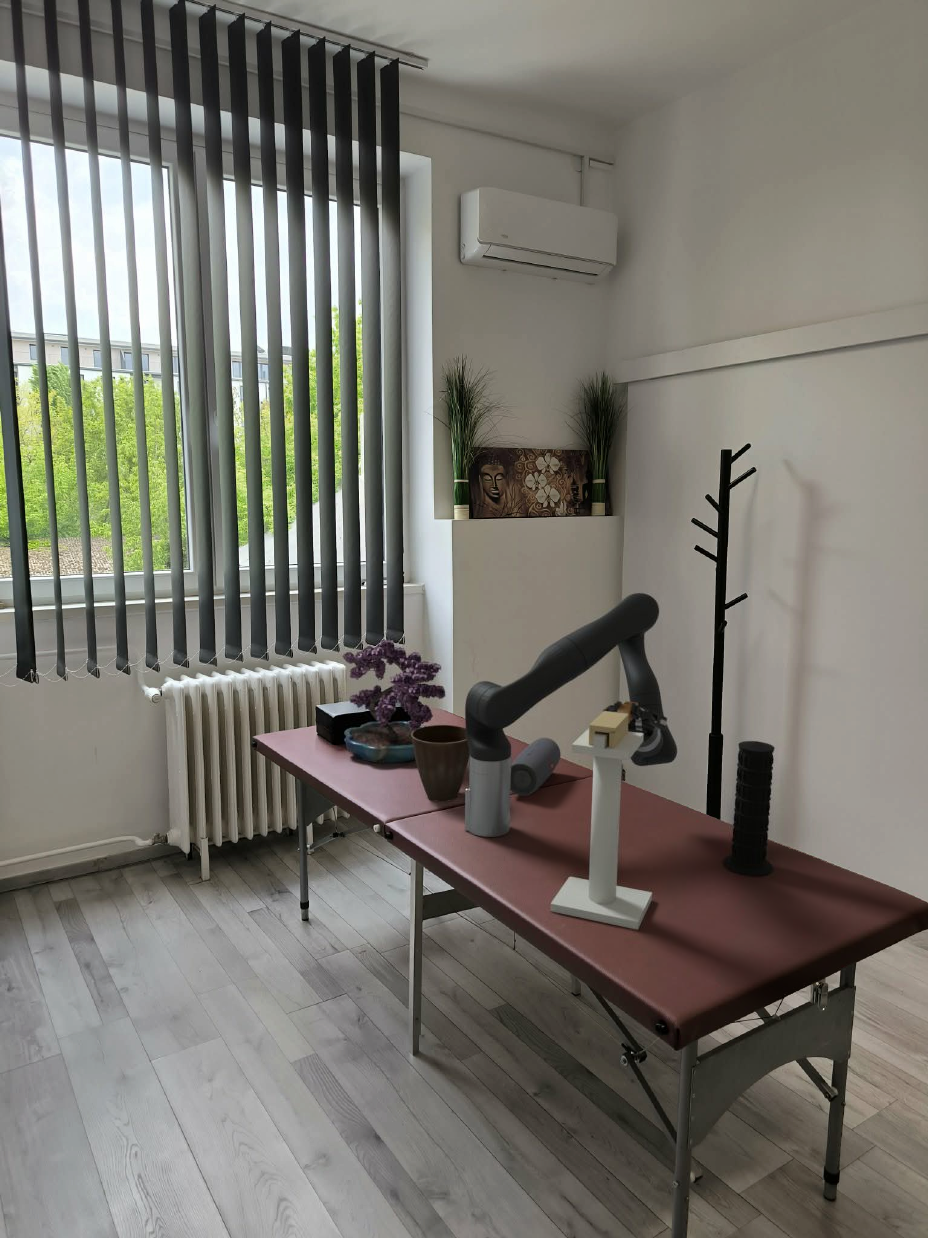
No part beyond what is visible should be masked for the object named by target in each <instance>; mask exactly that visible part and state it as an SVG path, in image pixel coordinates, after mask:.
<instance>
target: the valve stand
mask: <svg viewBox="0 0 928 1238" xmlns="http://www.w3.org/2000/svg"><path fill="white" fill-rule="evenodd" d="M628 716H629V714H625V713H617V712H608V711H603V710H602V712H601V713H600V714H599V715H598V716H597V717H596V718H595V719H594V720H593V721H592V722H591V723H589V725H588V727H589V728H587V729H586V730H585V731H584V732H583V733H582V734H581V735H580V736H579V737H578V738H577V739H576V740H575V741H574V742H573V743H572V744H571V753H573V754H579V755H586V756H592V757H593V765H592V766H593V769H592V797H591V799H592V800H591V817H590V818H591V823H590V846H589V847H590V849H589V871H588V872H589V874H588V879H585V878H579V877H575V876H568V878H567V879H566V881H565V882H564V884H563V885H562V886H561V888H560V890H559V891H558V893H556V895H555V897H554V898H553V899H552V901H551V902H550V912H553V913H556V914H557V913H558V914H562V915H565V916H566V915H567V916H572V917H575V918H576V917H578V918H581V919H586V920H590V921H595V922H600V923H603V924H604V923H605V924H610V925H614V926H618V927H623V928H629V929H633V930H636V931H637V930H639V928H640V926H641V923H642V922H643V920H644V918H645V916H646V913H647V911H648V909H649V906H650V905H651V902H652V898H653V892H651V891H647V890H641V889H635V888H631V887H627V886H626V887H625V886H620V885H617V881H618V880H617V878H618V877H617V876H618V861H619V860H618V859H619V858H618V857H619V856H618V855H619V837H620V836H619V833H620V832H619V831H620V814H621V812H620V810H621V809H620V808H621V792H622V791H621V788H622V765H623V761H629V760H631V756H632V755H633V754H634V752H635V751H636V750H637V749H638V747H639V746H640V745H641V744H642V742H643V736H644V733H637V732H629V731H628ZM597 732H605V733H609V744H608V745H607V746H606V748H605V749H602V748H595V747H593V736H594V735H595V734H596V733H597Z"/></svg>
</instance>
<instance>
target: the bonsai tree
mask: <svg viewBox="0 0 928 1238" xmlns="http://www.w3.org/2000/svg"><path fill="white" fill-rule="evenodd" d="M342 658H343V660H345V662H346V663H347V664H350V665H352V664H353V665H355V666H353V667H352V668H351V669H350V670H349V672H350V674H349V677H350V678H351V679H355V680H357V681H359V679H361V678H362V677H363V676H364V675H366V674H367V673H368V672H369V671H370V672H371V671H373V672H374V674H375V677H376V679H378V681H381V680H383V679H384V678H385V673H386V670H387V669H386V665H387V664H388V665H389V666H392V665H393V664H394V665H396V666H397V667H398V668H399V669H400V671H401V672H399V674H398V673H395V675H393V676H390V677H389V679H390V680H389V681H388V683H391V684H393V685H392V686H390V687H388V688H385V689H384V690H382V687H381V685H378V684H376V685H375V686H373V689H361V690H360V691H359V690H358V693H356V694H352V695H350V697H349V702H350V704H352V703H353V704H354V706H355V705H356V707H357V708H358V709H359V708H361V707H363V706H364V709H365V710H368V711H369V712H370V714H371V715H372V717H373V718H374V720H376V721H370V722H367V723H364V724H361V725H360V727H358V726H357V727H350V728H347V729H346V730H345V731H344V733H343V734H344V735H345V738H344V739H343V740H344V742H345V745H346V748H347V751H348V752H349V753H351V754H354V756H355V757H356V758H359V759H361V760H364V761H367V762H373V763H387V764H389V763H391V764H392V763H393V764H394V763H402V762H409V761H413V760H416V759H415V754H414V749H413V742H412V736H411V734H412V732H413V731H414V730H416V729H418V728H421V727H425V726H426V725H423V724H425V723H429V721H430V722H431V720H432V718H433V717H434V715H433V713H432V710H431V708H430V707H429V705H428V704H423V703H422V702H421V701H419V700H420V697H421V698H425V699H428V700H429V699H430V698H432V699H435V698H438V700H439V701H441V700H442V699H444V698H445V697H446V689H445V688H444V686H443V685H440V684H438V685H436V684H428V682H430V681H431V682H432V681H434V679H435V678H437V674H438V673H440V670H441V671H442V665H441V664H439V663H436V662H434V663H433V662H432V663H430V662H429V661H426V660H423V661H422V657H421V653H420V652H416V651H414V652H411V653H408V654H407V652H406V649H405V648H404V647H401V646H400V647H397V646H395V644H394V640H392V639H390V638H389V639H386V640H383V641H380V643H379V644H378V645H377V646H376V647H373V646H370V645H367V646H366V647H364V648H363V649H362V650H360V651H357V652H356V654H353V653H352V652H351V651H348V652H345V653H344V654H343V655H342ZM382 659H383V660H382ZM385 660H386V661H385ZM372 669H373V670H372ZM407 670H408V671H407ZM398 703H399V704H400V707H402V710H404V712H406V713H407V716H409V718H410V720H408V721H405V720H403V721H402V720H401V721H399V720H398V721H392V722H390V720H391V717H392V715H393V714H395V712H396V710H397V707H396V706H397V705H396V704H398Z"/></svg>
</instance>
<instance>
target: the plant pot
mask: <svg viewBox="0 0 928 1238" xmlns="http://www.w3.org/2000/svg"><path fill="white" fill-rule="evenodd" d="M424 726H425V727H421V728H418V729H416V730H414V731H413V732H412V734H411V736H412V742H413V749H414V754H415V759H414V760H415V763H416V767H417V771H418V773H419V777H420V780H421V784H422V786H423V788H424V789H423V790H424V792H425V794H426V797H427V798H428V799H429V800H431V801H434V802H435V801H436V802H449V801H453V800H455V799H456V798H458V796H459V792H460V790H461V788H462V784H463V782H464V779H465V777H466V773H467V768H468V765H469V746H468V743H467V740H466V727H463V726H459V725H451V724H435V725H434V724H433V725H424Z"/></svg>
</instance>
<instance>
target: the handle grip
mask: <svg viewBox="0 0 928 1238" xmlns="http://www.w3.org/2000/svg"><path fill="white" fill-rule="evenodd" d="M775 748H776V747H775V746H774V745H772V744H770V743H767V742H764V741H763V742H762V741H758V740H746V741H745V740H744V741H741V742H739V743H738V753H737V763H736V766H737V768H736V784H735V794H734V796H735V798H734V810H733V811H734V813H733V823H732V826H733V828H732V838H731V841H732V843H731V854H730V855H727V856H725V857H724V858H723V860H722V865H723V867H724V868H725V869H726V870H727V871H730V872H731V873H734V874H738V875H740V876H745V877H750V878H762V877H767V876H770V875H772V874H773V873H774V871H775V868H774V866H773V864H772V863H771V862H770V861H769V860H768V859H766V858H767V853H768V852H767V847H768V845H769V843H768V839H769V835H768V834H769V832H768V831H769V825H770V818H769V816H770V815H771V813H770V810H771V802H770V801H771V799H772V797H771V795H772V785H773V782H772V780H773V770H774V766H773V765H774V754H773V753H774V752H775Z"/></svg>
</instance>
